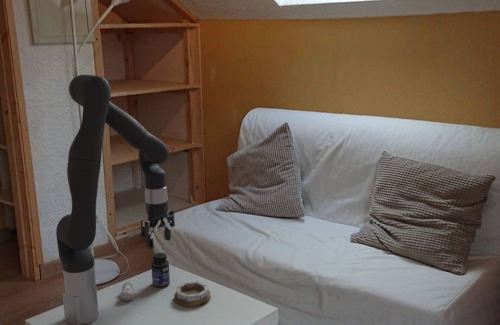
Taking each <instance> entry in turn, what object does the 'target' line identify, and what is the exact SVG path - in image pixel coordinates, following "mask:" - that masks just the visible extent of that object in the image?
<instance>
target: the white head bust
mask: <svg viewBox="0 0 500 325" xmlns="http://www.w3.org/2000/svg"><path fill="white" fill-rule="evenodd" d="M119 295H120V297H121V300H123V301H125V302H126V301H127V302H129V301H132V300H134V299H135V296H137V292H135V290H134V289H133V284H132V283H131V282H130V281H126V282H125V283H123V285H122V286H121V292H120V294H119Z"/></svg>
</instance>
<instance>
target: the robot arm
mask: <svg viewBox="0 0 500 325" xmlns="http://www.w3.org/2000/svg"><path fill="white" fill-rule="evenodd" d="M68 92H69V95H70V98H71V99H72V101H74V102H75V103H77V104H78V105H80V106H81V107H82V116H81V117H82V118H81V123H80V127H79V129H78V131H77V133H76V135H75V137H74V139H73V140H72V142H71V144H70V147H69V151H68V155H67V156H68V158H67V166H66V175H67V182H68V187H69V193H70V196H71V211H70V213H69V214H66V215H64V216H63V217H61V219H60V220H59V222H58V224H57V226H56V232H55V234H56V235H55V236H56V242H57V249H58V257H59V259H60V262H61V266H62V272H63V281H64V282H63V284H64V285H63V286H64V292H62V303H63V310H64V311H63V312H64V321H65V322H66V323H69V324H71V325H88V324H91V323H93V322H95V321H96V320H97V319H98V318H99V314H100V313H99V304H98V302H99V301H98V292H97V290H98V289H97V280H96V267H95V257H94V255H93V253H92V251H91V249H90V247H91V245H92V244H93V243H94V241H95V238H96V235H97V234H96V233H97V198H98V189H99V178H100V173H101V163H102V154H103V153H102V152H103V144H104V135H105V134H104V133H105V127H106V125H107V126H109V127H110V128H111V129H112V130H113V131H114V132H115V133H116V134H118V135H119V136H120V137H121V138H122V139H123V140H124V141H125V142H126V143H127V144H128V145H129V146H131V147H132V148H133V149H136V150H138V160H139V163H140V167H141V169H142V172H143V176H144V188H145V190H144V198H145V201H144V203H145V212H146V215H147V220H144V219H143V220H141V221H140V236H141V237H140V238H142V239H146V247H147V248H148V249H150V250H153V249H155V247H154V244H155V243H154V235H155V234H156V233H157V230H159V229H160V228H164V230H163V231H164V232H163V234H164V236H163V237H164V240H165V241H171V239H172V233H171V232H172V228H174V227H175V226H176V223H175V221H176V220H175V212H174V211H173V210H169V197H168V196H169V195H168V188H167V176H166V172H165V170H164V169H163V168H161V167H160V166H159V165H161V164H164V163H166V162H167V160H169V157H170V151H169V148H168V146H167V145H166V143H164V142H163V141H162V140H161V139H160V138H158V137H157V136H155V135H153V134H152V133H150V132H148V131H147V129H146V128H145V127H144V126H143V125H142V124H140V122H139V121H138V120H136V119H135V118H134V117H133V116H131V115H130V114H129V113H128V112H126V111H124V110H122V109H121V108H119V107H118V106H117V105H116V104H114V103H112V101H111V97H112V96H111V93H112V90H111V85H110V84H109V81H108V80H107V79H106V78H105V77H104V76H101V75H100V76H99V75H94V74H93V75H92V74H78V75H76V76H74V77H73V78H72V79H71V81H70V83H69V85H68Z"/></svg>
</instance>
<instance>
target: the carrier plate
mask: <svg viewBox="0 0 500 325" xmlns="http://www.w3.org/2000/svg"><path fill="white" fill-rule="evenodd" d="M211 295H212V294H211V291H210V289H209V287H208V284H207V283H203V282H201V281H198V280H197V281H186V282H183V283H181V284H180V285H178V286H176V292H175V293H174V302H175V303H176V304H177V305H178V306H181V307H184V308H198V307H201V306H203V305H206V304H208V303H209V302H210V301H211V298H212V296H211Z"/></svg>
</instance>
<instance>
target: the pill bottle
mask: <svg viewBox="0 0 500 325" xmlns="http://www.w3.org/2000/svg"><path fill="white" fill-rule="evenodd" d="M167 258H168V256H167V253H165V252H156V253H154V254H152V260H153V261H151V263H150V264H151V266H150V267H151V282H152V285H153V287H154V288H161V289H163V288H166V287H168V286H169V285H170V283H171V281H170V278H171V277H170V263H169V260H167Z"/></svg>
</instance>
